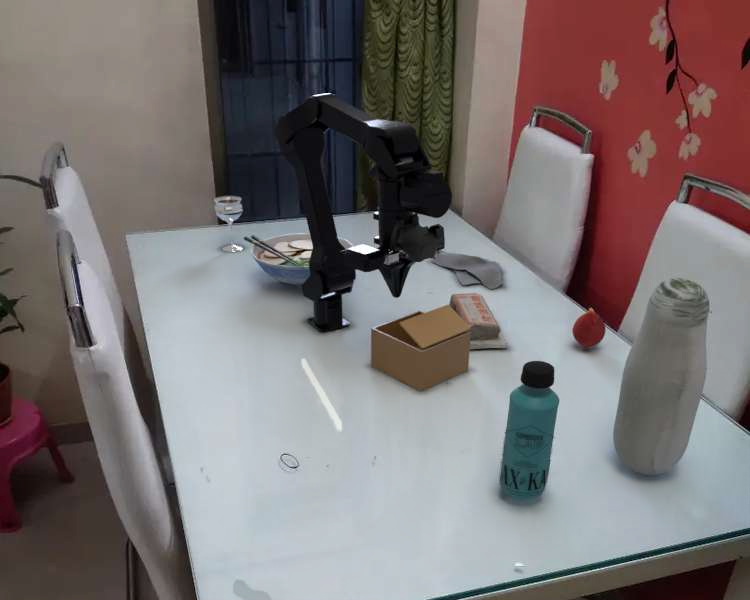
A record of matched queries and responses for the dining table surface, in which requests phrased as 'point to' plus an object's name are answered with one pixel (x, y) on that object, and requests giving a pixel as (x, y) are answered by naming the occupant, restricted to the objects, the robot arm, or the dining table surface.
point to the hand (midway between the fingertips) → (396, 297)
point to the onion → (589, 329)
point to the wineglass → (229, 215)
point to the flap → (434, 326)
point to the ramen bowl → (286, 256)
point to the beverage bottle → (529, 433)
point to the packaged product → (478, 321)
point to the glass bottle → (663, 379)
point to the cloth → (471, 268)
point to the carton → (417, 355)
